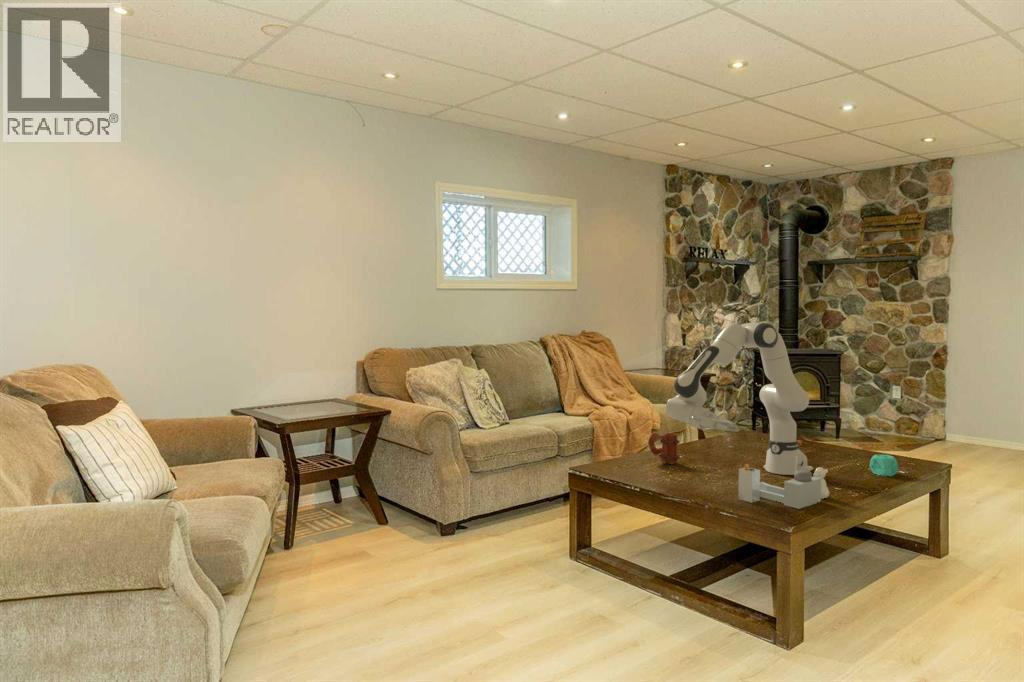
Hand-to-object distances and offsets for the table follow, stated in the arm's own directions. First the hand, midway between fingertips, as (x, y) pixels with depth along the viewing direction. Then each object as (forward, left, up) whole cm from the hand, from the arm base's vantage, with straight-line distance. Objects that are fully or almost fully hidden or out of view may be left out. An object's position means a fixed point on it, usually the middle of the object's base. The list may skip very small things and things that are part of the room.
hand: (732, 429), depth 271 cm
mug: (-17, -50, -26) cm, 59 cm away
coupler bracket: (-9, +16, -26) cm, 31 cm away
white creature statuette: (-22, +24, -26) cm, 42 cm away
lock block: (+3, +10, -26) cm, 28 cm away
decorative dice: (-77, +23, -26) cm, 84 cm away
